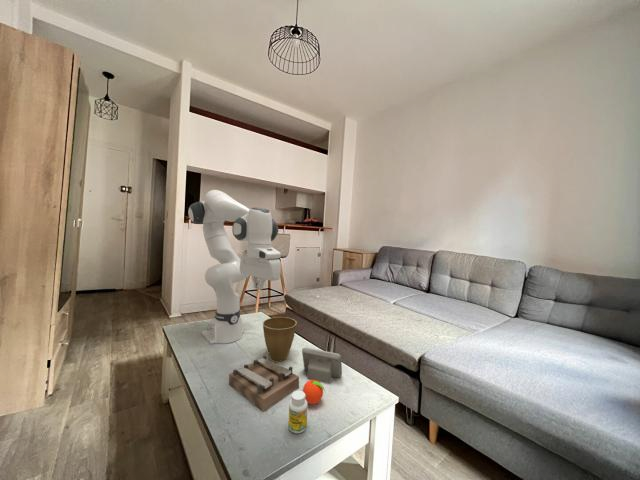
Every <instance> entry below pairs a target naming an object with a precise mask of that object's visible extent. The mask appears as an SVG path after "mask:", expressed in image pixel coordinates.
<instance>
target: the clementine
mask: <svg viewBox="0 0 640 480" xmlns="http://www.w3.org/2000/svg"><path fill="white" fill-rule="evenodd" d="M302 391H303V392H304V393H305V400H306V401H307V404H311V405H315V404H317V403H319V402H320V401H321V400H322V398H323V395H324V392H325V393H326V390H325V388H324V386H323V385H322V384H321V382H320V381H316V380H312V379H309V380H308V381H307V382H306V383H305V384H304V385H303V388H302Z"/></svg>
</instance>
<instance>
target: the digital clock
mask: <svg viewBox="0 0 640 480" xmlns="http://www.w3.org/2000/svg"><path fill="white" fill-rule="evenodd" d="M301 355H302V362H303V369H304V371H307V379H308V380H316V381H318V382H319V383H325V384H330V382H331V381H332V379H333V377H334V378H341V377H342V375H343V368H342V364H343V363H342V356H341V354H339V353H336V352H331V351H326V350H321V349H316V348H310V347H302V350H301ZM331 378H332V379H331Z"/></svg>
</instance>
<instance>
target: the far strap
mask: <svg viewBox="0 0 640 480" xmlns="http://www.w3.org/2000/svg"><path fill="white" fill-rule="evenodd" d="M261 358H262V359H261ZM261 358H259V359H260V360H259V359H257V360H258V364H261V365H263V366H265V367H267V368H269V369H271V370H273V371H275V372H277V373H280V372H282V373H283V374H282V375H283V376H287V375H289V374H290V373H291V370H289V368H286V367H284V366H282V365H280V364H277V363H276V362H274V361H272V360H270V359H269V360H270V361H269V360H267V359H268V358H267V359H265V358H263V357H261ZM271 361H272V362H271ZM273 362H274V363H273ZM275 363H276V364H275Z"/></svg>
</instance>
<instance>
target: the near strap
mask: <svg viewBox="0 0 640 480" xmlns="http://www.w3.org/2000/svg"><path fill="white" fill-rule="evenodd" d="M238 369H239V370H238ZM238 369H236V370H237V373H238V374H240V375H242V376H243V377H245V378H247V379H249V380H250V381H252V382H254V383H255V384H257V385H259V384H261V385H262V388H264V389H266V388H267V387H269V386H271V385H272V382H271V381H269V380H267V379H265V378H263V377H261V376H259V375H258V374H256V373H254V372H252V371H250V370H248V369H247V368H245V367H244V366H243V368H242V367H241V369H240V368H238Z"/></svg>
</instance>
